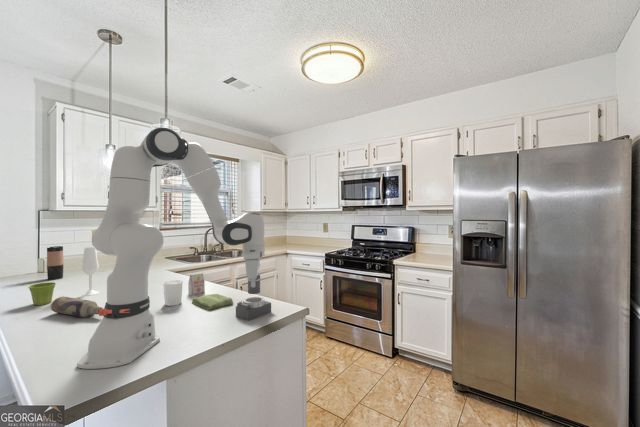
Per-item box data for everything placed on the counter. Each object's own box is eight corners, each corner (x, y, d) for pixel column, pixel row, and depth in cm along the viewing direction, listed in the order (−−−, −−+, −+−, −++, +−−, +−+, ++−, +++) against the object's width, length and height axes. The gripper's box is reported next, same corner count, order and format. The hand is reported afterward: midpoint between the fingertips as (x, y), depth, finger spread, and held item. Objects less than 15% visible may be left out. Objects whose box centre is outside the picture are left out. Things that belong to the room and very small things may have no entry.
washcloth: (215, 297, 145) (215, 290, 145) (235, 304, 133) (234, 297, 133) (189, 303, 135) (189, 296, 135) (207, 312, 123) (207, 304, 123)
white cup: (174, 307, 129) (174, 284, 129) (159, 305, 130) (159, 283, 130) (186, 301, 136) (186, 280, 136) (171, 300, 138) (171, 279, 138)
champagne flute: (102, 292, 152) (101, 246, 152) (90, 295, 146) (90, 248, 145) (90, 291, 153) (90, 246, 153) (78, 295, 146) (78, 248, 146)
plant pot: (57, 303, 134) (57, 284, 134) (28, 308, 127) (28, 288, 127) (55, 299, 140) (55, 281, 140) (27, 303, 134) (27, 284, 133)
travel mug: (65, 278, 183) (65, 246, 183) (49, 280, 177) (49, 248, 176) (61, 276, 187) (60, 245, 187) (45, 279, 181) (44, 247, 180)
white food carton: (188, 294, 149) (188, 274, 149) (201, 291, 154) (201, 272, 154) (191, 295, 146) (191, 275, 146) (204, 292, 151) (204, 273, 151)
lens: (260, 293, 118) (260, 276, 118) (247, 294, 117) (246, 276, 117) (260, 290, 123) (260, 273, 123) (248, 290, 122) (248, 273, 122)
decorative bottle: (49, 315, 119) (49, 299, 119) (69, 309, 126) (69, 294, 126) (92, 322, 111) (92, 305, 111) (112, 316, 118) (112, 299, 118)
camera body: (248, 320, 113) (248, 305, 112) (235, 316, 118) (235, 300, 118) (271, 312, 122) (271, 297, 122) (258, 308, 127) (258, 294, 127)
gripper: (248, 248, 129) (248, 278, 130) (242, 255, 109) (243, 292, 109) (262, 247, 130) (263, 278, 131) (259, 255, 110) (260, 291, 110)
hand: (254, 284), depth 120 cm, fingers closed on lens, 5 cm apart
